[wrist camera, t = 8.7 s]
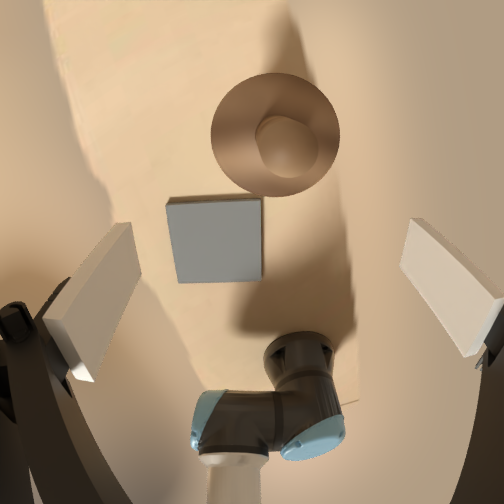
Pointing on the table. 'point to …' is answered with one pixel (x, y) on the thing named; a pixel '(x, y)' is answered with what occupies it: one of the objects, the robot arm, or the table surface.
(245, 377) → the table surface
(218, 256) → the mat
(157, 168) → the table surface
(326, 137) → the lid
